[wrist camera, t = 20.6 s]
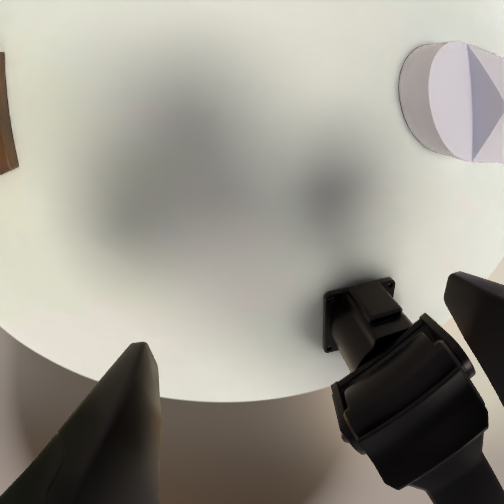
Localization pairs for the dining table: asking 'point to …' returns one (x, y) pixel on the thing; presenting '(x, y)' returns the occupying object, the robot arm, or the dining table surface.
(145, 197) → the dining table surface
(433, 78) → the wedge on round base
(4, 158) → the wooden base
